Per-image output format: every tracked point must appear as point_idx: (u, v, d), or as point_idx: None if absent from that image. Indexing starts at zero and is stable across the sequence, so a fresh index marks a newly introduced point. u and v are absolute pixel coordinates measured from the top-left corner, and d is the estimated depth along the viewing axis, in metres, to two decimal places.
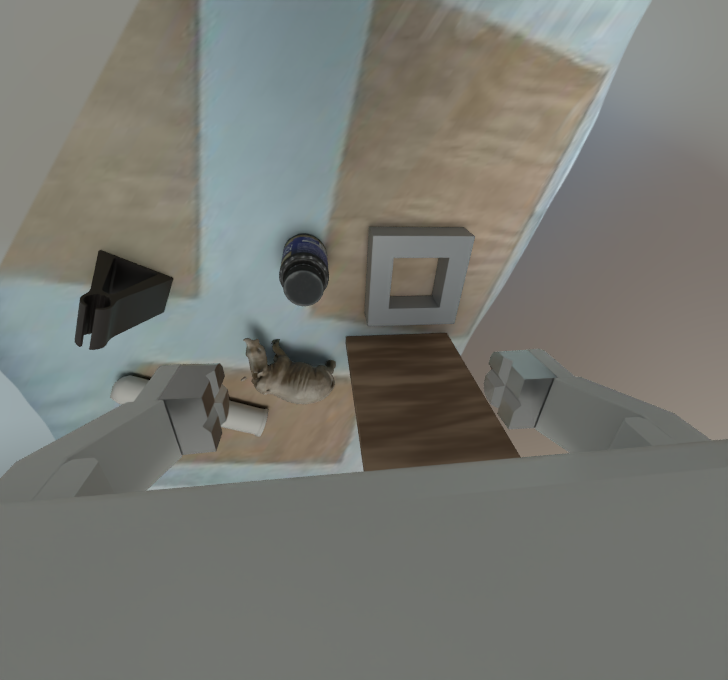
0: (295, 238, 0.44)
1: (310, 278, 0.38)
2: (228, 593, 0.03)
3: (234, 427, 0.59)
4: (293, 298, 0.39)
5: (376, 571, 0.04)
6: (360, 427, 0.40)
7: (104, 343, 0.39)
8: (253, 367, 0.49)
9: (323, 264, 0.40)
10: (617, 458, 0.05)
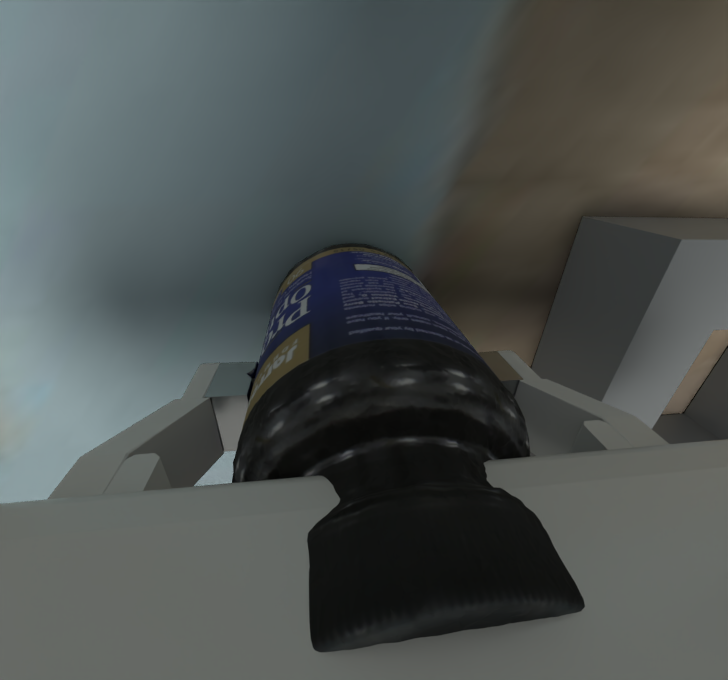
0: (321, 259, 0.11)
1: None
2: (228, 593, 0.03)
3: None
4: None
5: None
6: None
7: None
8: None
9: (518, 410, 0.06)
10: (618, 458, 0.05)
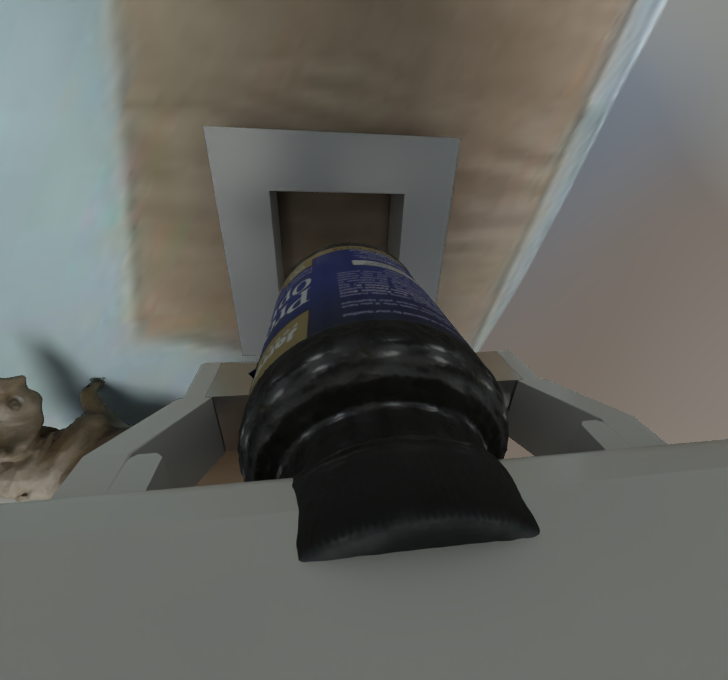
0: (321, 256, 0.11)
1: None
2: (228, 593, 0.03)
3: None
4: None
5: (376, 570, 0.04)
6: None
7: None
8: None
9: (496, 385, 0.07)
10: (618, 458, 0.05)
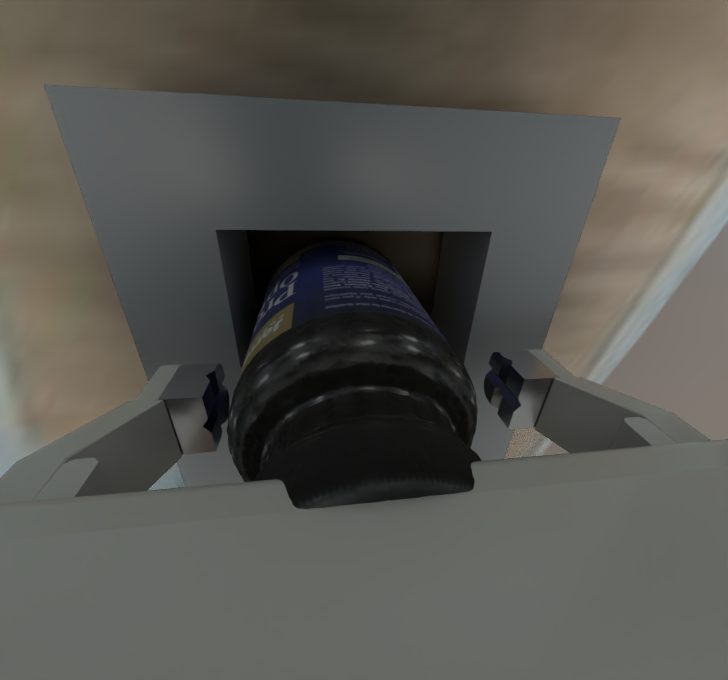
0: (308, 251, 0.12)
1: None
2: (228, 593, 0.03)
3: None
4: None
5: (376, 571, 0.04)
6: None
7: None
8: None
9: (465, 373, 0.07)
10: (618, 458, 0.05)
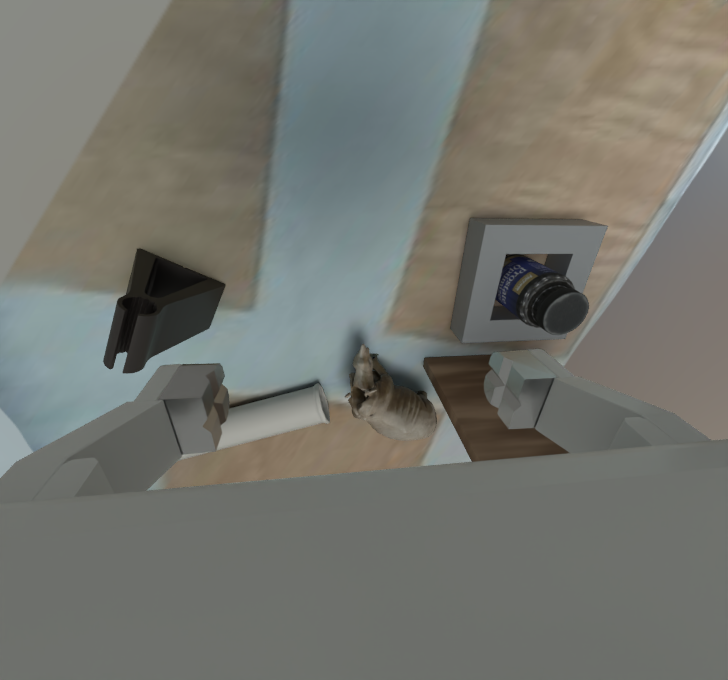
0: (512, 258, 0.38)
1: (578, 301, 0.32)
2: (228, 593, 0.03)
3: (289, 425, 0.43)
4: (550, 326, 0.32)
5: (376, 571, 0.04)
6: None
7: (142, 365, 0.29)
8: (361, 382, 0.38)
9: (573, 286, 0.34)
10: (618, 458, 0.05)
